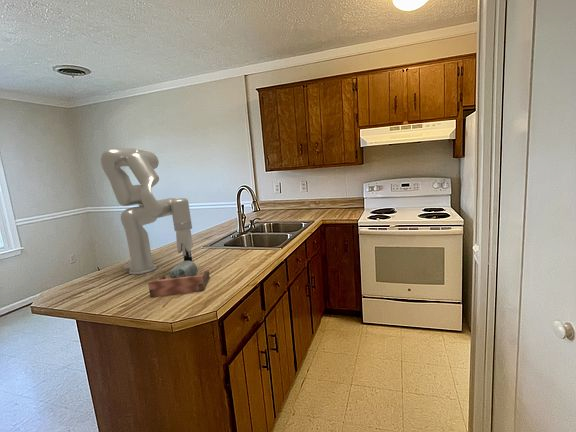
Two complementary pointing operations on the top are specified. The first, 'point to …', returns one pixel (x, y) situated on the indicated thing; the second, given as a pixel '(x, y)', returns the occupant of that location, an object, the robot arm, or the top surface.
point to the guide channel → (178, 285)
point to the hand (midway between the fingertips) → (188, 265)
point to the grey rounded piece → (184, 270)
